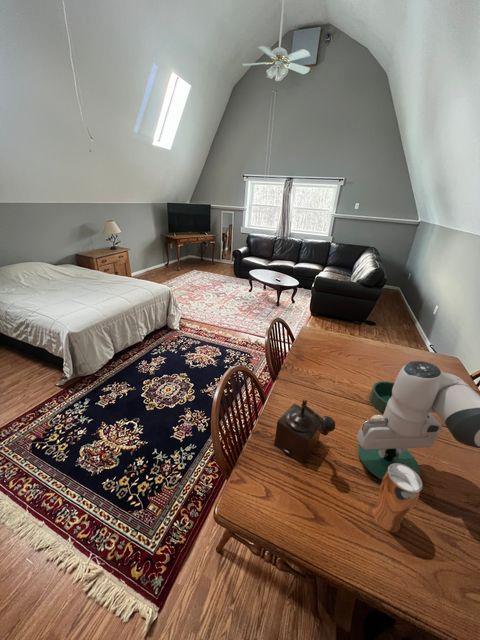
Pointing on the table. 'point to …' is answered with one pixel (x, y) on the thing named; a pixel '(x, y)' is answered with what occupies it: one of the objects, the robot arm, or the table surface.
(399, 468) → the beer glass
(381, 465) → the lid
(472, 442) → the robot arm
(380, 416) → the egg
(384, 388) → the basin
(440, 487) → the table surface
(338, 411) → the table surface
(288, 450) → the manual coffee grinder
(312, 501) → the table surface
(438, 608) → the table surface
